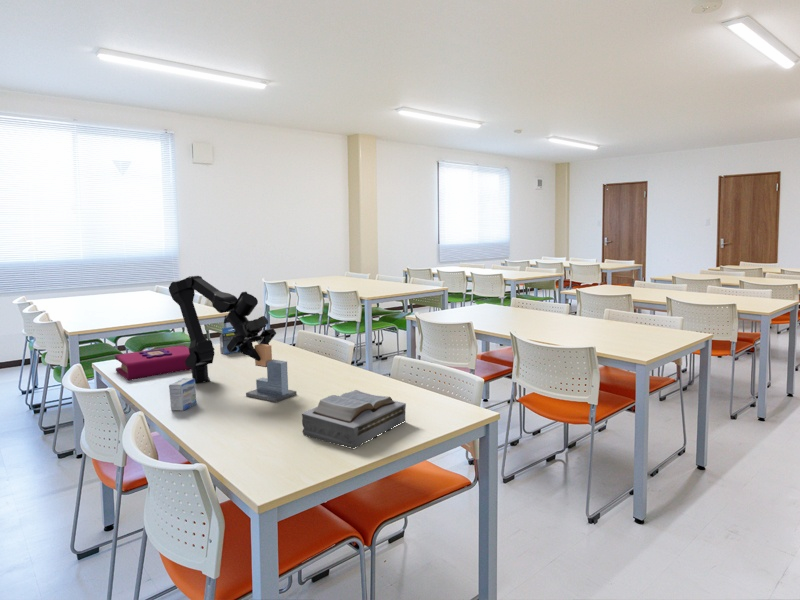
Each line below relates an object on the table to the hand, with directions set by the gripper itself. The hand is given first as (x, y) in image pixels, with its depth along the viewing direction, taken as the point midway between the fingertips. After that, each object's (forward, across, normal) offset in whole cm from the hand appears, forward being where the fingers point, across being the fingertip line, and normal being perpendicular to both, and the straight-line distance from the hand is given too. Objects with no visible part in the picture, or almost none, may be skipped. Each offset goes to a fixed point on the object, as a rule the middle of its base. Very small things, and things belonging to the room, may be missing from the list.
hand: (265, 358), depth 187 cm
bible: (+42, -11, -23) cm, 49 cm away
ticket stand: (+11, 0, +7) cm, 13 cm away
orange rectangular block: (+1, 0, +2) cm, 3 cm away
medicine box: (-1, -23, +19) cm, 30 cm away
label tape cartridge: (-35, +40, +54) cm, 75 cm away
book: (-36, +3, +56) cm, 66 cm away
